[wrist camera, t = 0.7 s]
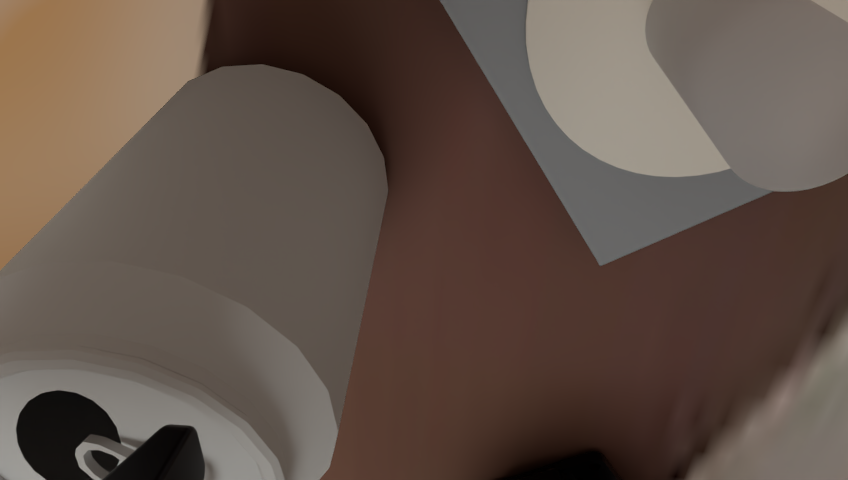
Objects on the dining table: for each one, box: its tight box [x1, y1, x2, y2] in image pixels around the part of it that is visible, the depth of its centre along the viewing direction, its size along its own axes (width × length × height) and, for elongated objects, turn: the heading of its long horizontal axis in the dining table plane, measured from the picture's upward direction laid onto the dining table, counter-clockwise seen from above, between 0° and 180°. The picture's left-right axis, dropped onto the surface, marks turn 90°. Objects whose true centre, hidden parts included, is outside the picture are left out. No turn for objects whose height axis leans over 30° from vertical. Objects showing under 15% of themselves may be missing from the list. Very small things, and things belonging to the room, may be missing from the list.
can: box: [0, 64, 388, 480], centre depth 16 cm, size 8×8×12 cm
